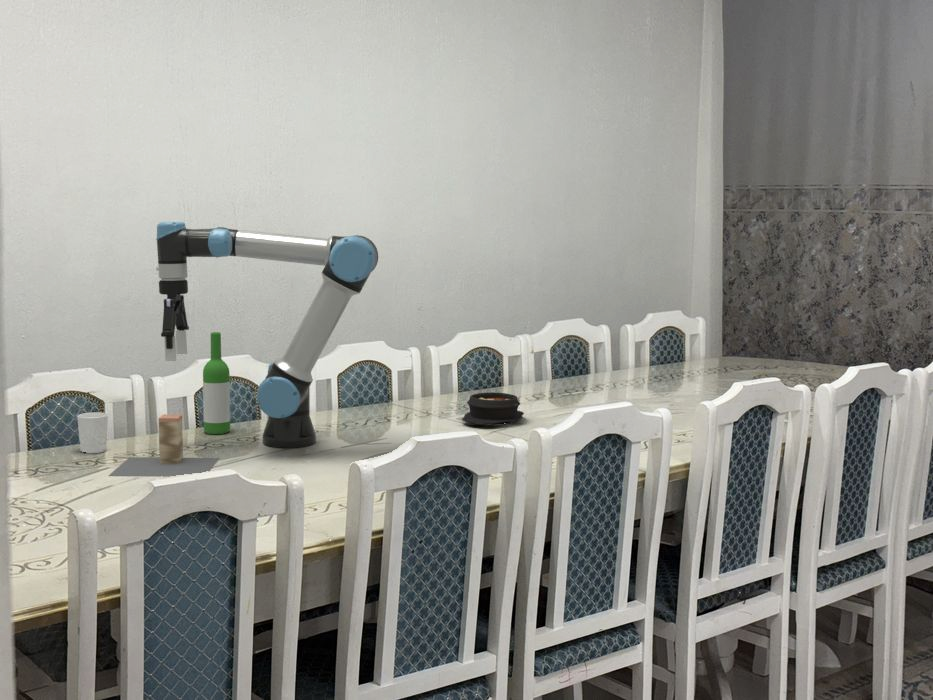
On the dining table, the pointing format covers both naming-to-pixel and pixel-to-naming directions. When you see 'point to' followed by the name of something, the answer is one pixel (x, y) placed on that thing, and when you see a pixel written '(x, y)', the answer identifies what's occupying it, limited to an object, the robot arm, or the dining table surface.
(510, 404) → the casserole
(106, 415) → the white cup
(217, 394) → the wine bottle
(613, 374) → the dining table surface
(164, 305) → the robot arm
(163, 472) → the mat
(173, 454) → the maple block
